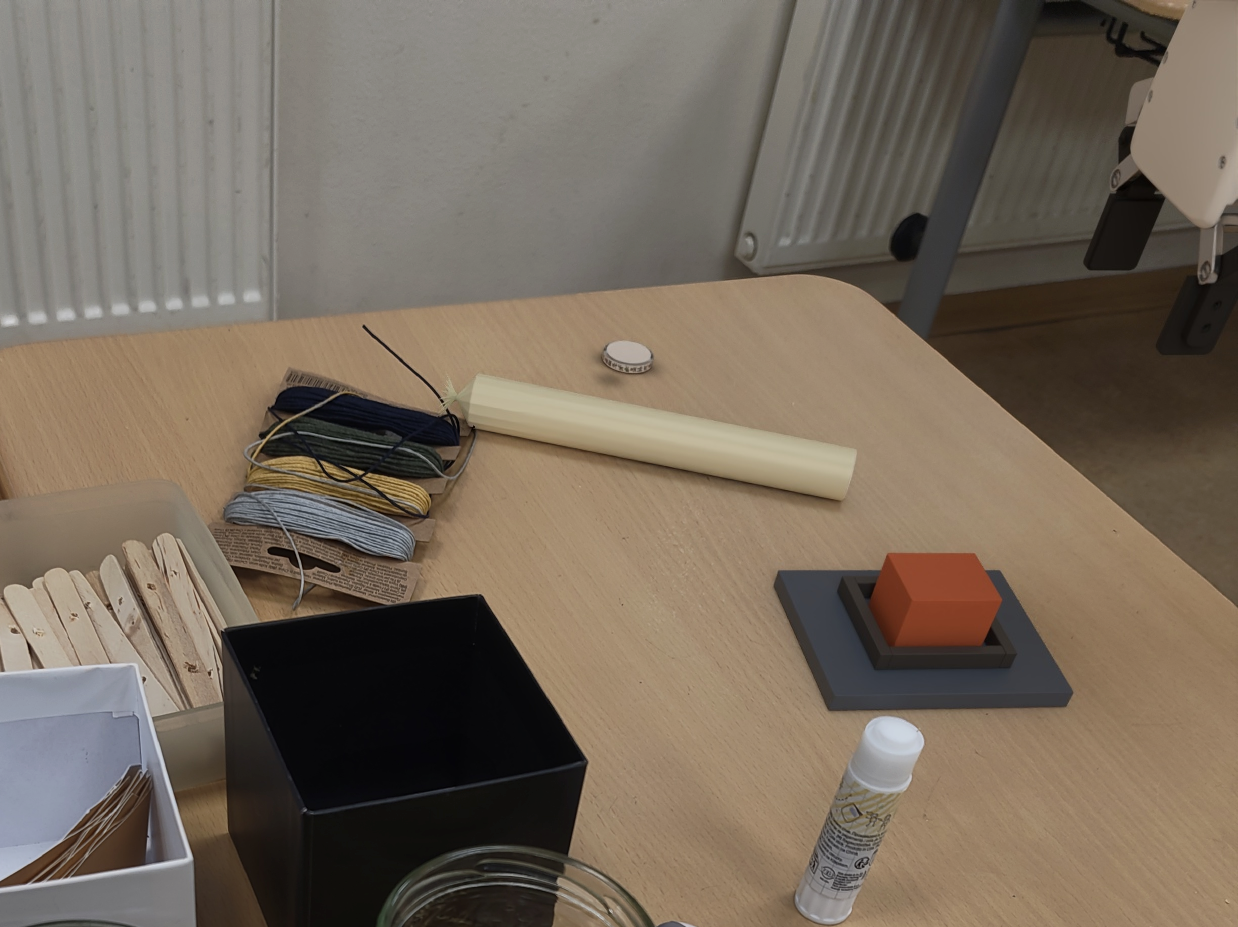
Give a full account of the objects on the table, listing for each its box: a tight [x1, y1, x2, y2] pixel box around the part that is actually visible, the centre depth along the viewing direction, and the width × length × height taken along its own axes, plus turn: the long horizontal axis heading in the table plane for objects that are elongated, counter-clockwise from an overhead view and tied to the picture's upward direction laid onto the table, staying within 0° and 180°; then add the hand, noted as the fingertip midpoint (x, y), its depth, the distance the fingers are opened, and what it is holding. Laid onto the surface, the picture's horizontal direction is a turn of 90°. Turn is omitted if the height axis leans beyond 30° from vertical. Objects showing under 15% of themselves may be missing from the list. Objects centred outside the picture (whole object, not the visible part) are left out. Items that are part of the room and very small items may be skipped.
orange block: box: [868, 552, 1002, 647], centre depth 92 cm, size 6×5×4 cm
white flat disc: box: [601, 339, 655, 374], centre depth 114 cm, size 4×4×1 cm
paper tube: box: [438, 370, 858, 502], centre depth 104 cm, size 4×30×4 cm, turn 78°
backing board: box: [773, 569, 1075, 711], centre depth 94 cm, size 16×13×2 cm
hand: (1143, 309), depth 82 cm, fingers open, 9 cm apart
